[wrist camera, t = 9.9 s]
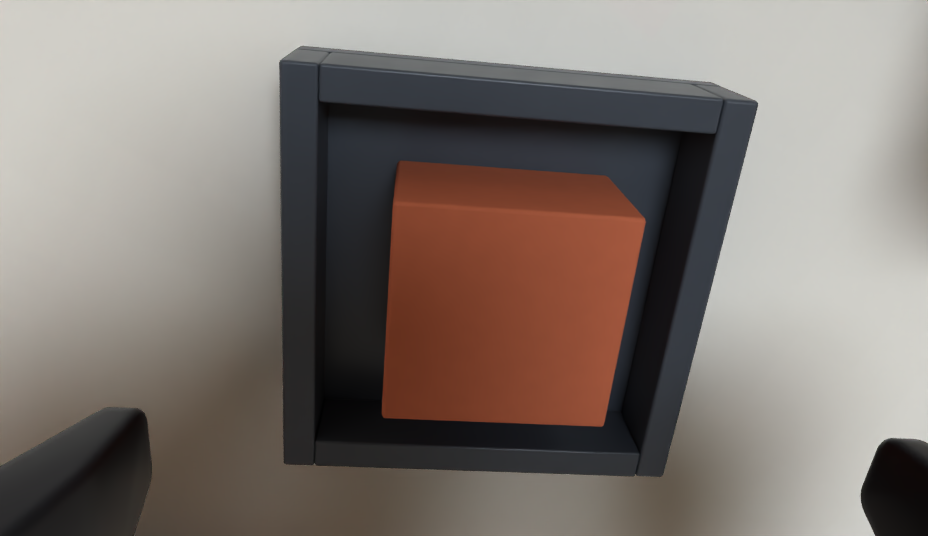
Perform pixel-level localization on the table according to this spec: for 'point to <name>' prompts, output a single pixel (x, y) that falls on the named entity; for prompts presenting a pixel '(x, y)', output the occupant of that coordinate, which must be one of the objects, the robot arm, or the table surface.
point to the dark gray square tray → (501, 146)
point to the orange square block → (506, 294)
